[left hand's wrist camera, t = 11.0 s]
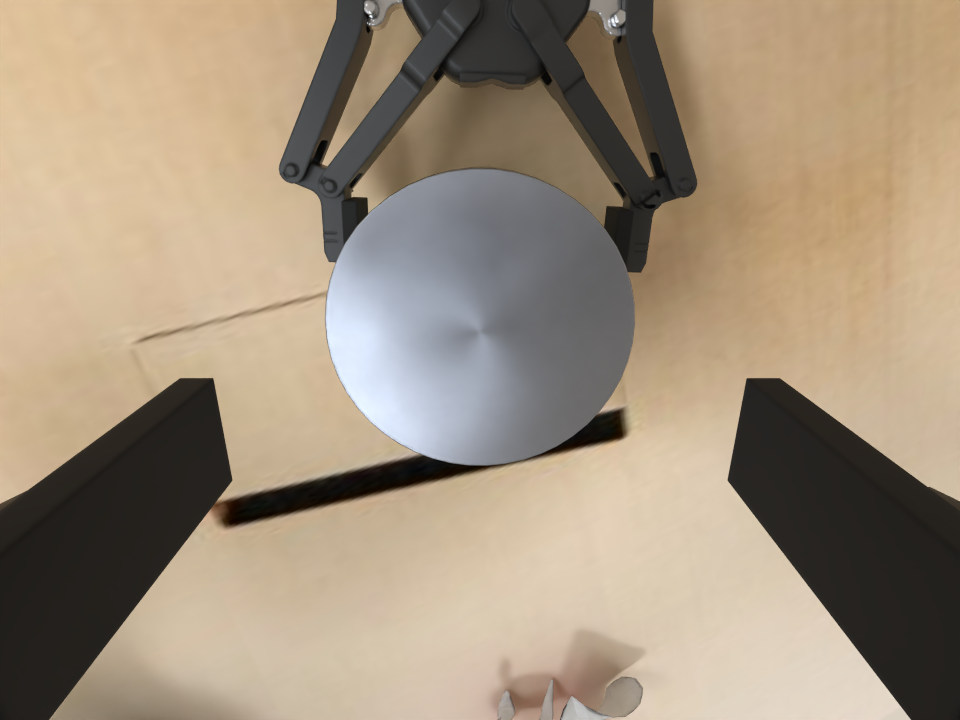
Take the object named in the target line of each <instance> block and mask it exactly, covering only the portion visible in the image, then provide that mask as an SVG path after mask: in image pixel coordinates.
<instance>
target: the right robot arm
mask: <svg viewBox="0 0 960 720" xmlns="http://www.w3.org/2000/svg"><path fill="white" fill-rule="evenodd" d="M396 9H405V11H406V13H407V15H408V17H409V19H410V20H411V22H412V24H413V25H414V27H415V28H416V30H417V32H418V33H419V35H420V37H421V38H422V40H421V41H420V42H419V44H418V45H417V46H416V48H415V49H414V50H413V52H412V53H411V54H410V56H409V57H408V58H407V60H406V61H405V62H404V64H403V66H402V68H401V71H400V72H399V74H398V75H397V76H396V78H395V79H394V80H393V82H392V83H391V84H390V86H389V87H388V88H387V89H386V91H385V92H384V93H383V95H382V96H381V97H380V99H379V100H378V101H377V103H376V104H375V105H374V107H373V108H372V109H371V110H370V112H369V113H368V114H367V116H366V117H365V118H364V120H363V121H362V122H361V124H360V125H359V126H358V128H357V129H356V130H355V131H354V133H353V134H352V135H351V137H350V138H349V139H348V141H347V142H346V143H345V145H344V146H343V147H342V149H341V150H340V151H339V152H338V154H337V155H336V156H335V158H334V159H333V160H332V162H331V163H330V164H329V166H328V167H327V166H325V165H322V162H323V160H324V157H325V155H326V153H327V150H328V148H329V145H330V143H331V140H332V138H333V136H334V133H335V131H336V128H337V126H338V123H339V121H340V119H341V116H342V114H343V111H344V109H345V107H346V104H347V102H348V99H349V97H350V94H351V92H352V90H353V87H354V85H355V82H356V80H357V78H358V75H359V73H360V70H361V68H362V65H363V63H364V61H365V58H366V56H367V53H368V50H369V47H370V45H371V40H372V36H373V30H381V29H383V28H384V27H385V26H386V25H387V23H388V20H389V17H390V15H391V13H392V12H393V11H395V10H396ZM586 16H590V17H592V18H594V19H595V20H596V21H597V23H598V24H599V28H600V32H601V34H602V36H603V37H604V38H606V39H608V40H613V45H614V51H615V56H616V60H617V64H618V67H619V70H620V73H621V76H622V79H623V82H624V85H625V88H626V92H627V95H628V98H629V101H630V104H631V107H632V110H633V113H634V116H635V119H636V122H637V125H638V128H639V132H640V135H641V138H642V141H643V144H644V147H645V150H646V153H647V156H648V159H649V162H650V165H651V168H652V172H653V175H654V177H651V178H649V177H648V175H647V174H646V172H645V170H644V169H643V167H642V166H641V164H640V163H639V161H638V160H637V158H636V156H635V155H634V153H633V152H632V150H631V149H630V147H629V146H628V144H627V142H626V141H625V139H624V138H623V136H622V135H621V133H620V132H619V130H618V128H617V127H616V125H615V124H614V122H613V121H612V119H611V118H610V116H609V114H608V113H607V111H606V110H605V108H604V107H603V105H602V104H601V102H600V101H599V99H598V97H597V96H596V94H595V93H594V91H593V90H592V88H591V87H590V85H589V83H588V82H587V80H586V78H585V75H584V72H583V70H582V68H581V66H580V65H579V63H578V62H577V60H576V58H575V57H574V55H573V54H572V52H571V51H570V49H569V48H568V46H567V44H566V43H567V42H568V40H569V39H570V37H571V36H572V35H573V33H574V32H575V31H576V29H577V28H578V27H579V25H580V24H581V22H582V21H583V20H584V18H585V17H586ZM652 27H653V0H337V12H336V20H335V23H334V25H333V28H332V31H331V33H330V36H329V38H328V41H327V43H326V46H325V49H324V51H323V54H322V56H321V59H320V62H319V64H318V67H317V69H316V72H315V74H314V77H313V80H312V82H311V85H310V87H309V90H308V92H307V95H306V98H305V100H304V103H303V105H302V108H301V111H300V113H299V116H298V118H297V121H296V123H295V126H294V129H293V131H292V134H291V136H290V139H289V141H288V144H287V147H286V149H285V152H284V154H283V157H282V160H281V162H280V166H279V172H280V175H281V177H282V178H283V179H284V180H285V181H286V182H289V183H295V184H298V185H300V186H302V187H305V188H307V189H310V190H312V191H313V192H315V193H316V194H317V196H318V197H319V199H320V201H321V206H322V221H323V232H324V233H323V237H324V252H325V254H326V256H327V259H328V261H329V262H336V261H337V259H338V257H339V255H340V253H341V251H342V249H343V247H344V245H345V243H346V241H347V240H348V239H349V237H350V236H351V234H352V233H353V231H354V230H355V228H356V227H357V226H358V225H359V224H360V222H361V221H362V220H363V219H364V218H365V217H366V216H367V215H368V200H367V198H363V197H352V198H351V193H352V192H353V190H352V189H353V188H354V187H355V185H356V184H357V183H358V182H359V180H360V179H361V178H362V177H363V175H364V174H365V173H366V171H367V170H368V169H369V168H370V166H371V165H372V164H373V163H374V161H375V160H376V159H377V158H378V156H379V155H380V154H381V152H382V151H383V150H384V149H385V147H386V146H387V145H388V144H389V142H390V141H391V140H392V138H393V137H394V136H395V135H396V133H397V132H398V131H399V130H400V128H401V127H402V126H403V125H404V123H405V122H406V121H407V119H408V118H409V117H410V116H411V114H412V113H413V112H414V111H415V109H416V108H417V107H418V105H419V104H420V103H421V102H422V100H423V99H424V98H425V97H426V96H427V95H428V94H429V93H430V92H431V91H432V90H433V89H434V87H435V86H436V85H437V84H438V82H439V81H440V80H441V79H442V77H443V76H444V75H445V76H446V77H447V78H448V79H449V80H451V81H452V82H454V83H456V84H459V85H460V87H470V88H477V87H481V86H484V85H488V84H495V85H498V86H501V87H503V88H506V89H522V90H523V89H524V87H528V86H530V85H532V84H534V83H535V82H537V81H538V80H539V79H540V80H541V82H542V83H543V85H544V86H545V88H546V89H547V91H548V92H549V93H550V95H551V96H552V97H553V99H555V100H556V101H557V103H558V104H559V106H560V107H561V109H562V110H563V112H564V113H565V115H566V116H567V118H568V119H569V121H570V122H571V123H572V125H573V126H574V128H575V129H576V131H577V132H578V134H579V135H580V137H581V138H582V140H583V141H584V143H585V144H586V146H587V147H588V149H589V150H590V152H591V153H592V155H593V156H594V158H595V159H596V161H597V162H598V164H599V165H600V167H601V168H602V170H603V171H604V173H605V174H606V176H607V177H608V179H609V180H610V182H611V183H612V185H613V186H614V188H615V189H616V191H617V192H618V194H619V195H620V197H621V198H622V200H623V207H614V206H607V208H606V216H605V225H604V228H605V229H606V231H607V233H608V234H609V236H610V237H611V239H612V240H613V242H614V243H615V245H616V246H617V248H618V250H619V253H620V255H621V257H622V259H623V261H624V263H625V266H626V269H627V272H640V273H641V271H642V269H643V267H644V266H645V264H646V258H647V251H648V243H649V237H650V230H651V223H652V217H653V213H654V211H655V210H656V209H658V208H659V206H660V205H661V204H662V203H664V202H667V201H670V200H673V199H676V198H679V197H683V198H684V197H688V196H690V195H691V194H693V192H694V191H695V189H696V186H697V179H696V175H695V172H694V169H693V165H692V162H691V159H690V155H689V152H688V149H687V145H686V142H685V139H684V135H683V132H682V129H681V125H680V122H679V119H678V115H677V112H676V109H675V105H674V102H673V99H672V95H671V92H670V89H669V85H668V82H667V79H666V75H665V72H664V69H663V65H662V62H661V59H660V55H659V52H658V49H657V45H656V42H655V38H654V35H653V32H652Z"/></svg>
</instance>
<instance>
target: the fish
mask: <svg viewBox="0 0 960 720" xmlns="http://www.w3.org/2000/svg"><path fill="white" fill-rule="evenodd" d="M642 692H643V688H642V686H641V685H640V683H639V682H638V681H637V679H635V678H631V677H621V678H619V679H617V680H615V681H614V682H613V683H611V684H610V685H609V686H608V687H607V688H606V693H605V697H604V700H603V703H602V705H601V707H600V708H599V709H598V710H597V712H596V711H594V710H592V709H590V708H588V707H586V706H584V705H583V704H582V703H580V702H579V701H578V700H577V699H575V698H574V697H573V696H571V697H570V699H569V701H568V703H567V704H566V706H565V708H564V709H563V712H562V715H561V718H560V720H604V719H607V718H613V717H626V716H627V715H629V714H630V713H631V712H633V711H634V710H635V709H636V708H637V707H638V706H639V704H640V702H641V698H642ZM514 713H515V708H514V705H513V702H512V700H511V696H510V693H509V691H505V692H504V694H503V696H502V698H501V701H500V704H499V707H498V720H512V718H513V716H514ZM539 720H553V680H552V679H551V682H550V685H549V687H548V690H547V693H546V696H545V699H544V703H543V707H542V712H541V715H540V719H539Z"/></svg>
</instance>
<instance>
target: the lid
mask: <svg viewBox="0 0 960 720" xmlns="http://www.w3.org/2000/svg"><path fill="white" fill-rule="evenodd" d="M325 325H326V336H327V342H328V347H329V351H330V355H331V359H332V362H333V364H334V367H335V370H336V372H337V375H338V377H339V379H340V381H341V383H342V385H343V387H344V388H345V390H346V392H347V394H348V395H349V397H350V398H351V399H352V401H353V402H354V404H355V405H356V406H357V408H358V409H359V410H360V411H361V412H362V413H363V414H364V416H365V417H366V418H367V419H368V420H369V421H370V422H371V423H372V424H373V425H375V426H376V427H377V428H378V429H379V430H380V431H382V432H383V433H384V434H385V435H387V436H388V437H390V438H391V439H393V440H394V441H396V442H397V443H399V444H401V445H403V446H405V447H407V448H409V449H411V450H412V451H414V452H417V453H419V454H422V455H425V456H427V457H430V458H433V459H437V460H441V461H445V462H449V463H456V464H464V465H496V464H506V463H510V462H515V461H519V460H524V459H527V458H530V457H532V456H535V455H538V454H541V453H543V452H545V451H547V450H549V449H551V448H554V447H556V446H558V445H559V444H561V443H562V442H564V441H566V440H567V439H569V438H570V437H572V436H573V435H575V434H576V433H577V432H578V431H579V430H581V429H582V428H583V427H584V426H586V425H587V424H588V423H589V422H590V421H591V420H592V419H593V418H594V417H595V416H596V415H597V413H598V412H599V411H600V410H601V409H602V408H603V406H604V405H605V404H606V402H607V401H608V400H609V398H610V397H611V395H612V394H613V392H614V390H615V388H616V387H617V385H618V383H619V381H620V379H621V377H622V375H623V372H624V370H625V367H626V365H627V362H628V359H629V355H630V351H631V347H632V343H633V335H634V326H635V307H634V298H633V292H632V286H631V282H630V279H629V275H628V272H627V269H626V266H625V263H624V261H623V259H622V257H621V255H620V253H619V250H618V248H617V246H616V245H615V243H614V242H613V240H612V239H611V237H610V236H609V234H608V233H607V231H606V229H605V228H604V227H603V226H602V225H601V224H600V223H599V221H598V220H597V219H596V218H595V217H594V216H593V215H592V213H590V212H589V211H588V210H587V209H586V208H585V207H583V206H582V205H581V204H580V203H579V202H578V201H577V200H575V199H574V198H572V197H571V196H569V195H568V194H566V193H565V192H563V191H561V190H560V189H558V188H557V187H555V186H552V185H550V184H548V183H546V182H544V181H541V180H539V179H537V178H534V177H532V176H528V175H525V174H522V173H519V172H515V171H512V170H505V169H499V168H491V167H470V168H462V169H454V170H449V171H445V172H442V173H438V174H434V175H431V176H428V177H426V178H423V179H421V180H419V181H416V182H414V183H412V184H409V185H407V186H405V187H404V188H402V189H400V190H399V191H397V192H395V193H394V194H392V195H391V196H389V197H387V198H386V199H385V200H384V201H383V202H381V203H380V204H379V205H378V206H376V207H375V208H374V209H373V210H372V211H371V212H370V213H369V214H368V215H367V216H366V217H365V218H364V219H363V220H362V221H361V222H360V224H359V225H358V226H357V227H356V228H355V230H354V231H353V233H352V234H351V236H350V237H349V239H348V240H347V241H346V243H345V245H344V247H343V249H342V251H341V253H340V255H339V257H338V259H337V261H336V263H335V266H334V269H333V272H332V275H331V278H330V281H329V287H328V292H327V298H326V311H325Z"/></svg>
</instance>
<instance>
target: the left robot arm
mask: <svg viewBox="0 0 960 720" xmlns="http://www.w3.org/2000/svg"><path fill="white" fill-rule="evenodd" d="M231 482H232V476H231V470H230V465H229V460H228V454H227V449H226V444H225V438H224V433H223V428H222V422H221V417H220V412H219V406H218V401H217V396H216V390H215V385H214V380H213V378H180V379H179V380H177V381H176V382H175V383H173V384H172V385H170V386H169V387H168V388H166V389H165V390H164V391H162V392H161V393H160V394H158V395H157V396H155V397H154V398H153V399H151V400H150V401H149V402H147V403H146V404H145V405H143V406H142V407H141V408H139V409H138V410H136V411H135V412H134V413H132V414H131V415H130V416H128V417H127V418H126V419H124V420H123V421H122V422H120V423H119V424H117V425H116V426H115V427H113V428H112V429H111V430H109V431H108V432H107V433H105V434H104V435H103V436H101V437H100V438H98V439H97V440H96V441H94V442H93V443H92V444H90V445H89V446H88V447H86V448H85V449H84V450H82V451H81V452H79V453H78V454H77V455H75V456H74V457H73V458H71V459H70V460H69V461H67V462H66V463H65V464H63V465H62V466H60V467H59V468H58V469H56V470H55V471H54V472H52V473H51V474H50V475H48V476H47V477H45V478H44V479H43V480H41V481H40V482H39V483H37V484H36V485H35V486H33V487H32V488H31V489H29V490H28V491H26V492H24V493H22V494H19V495H17V496H15V497H13V498H11V499H9V500H7V501H5V502H3V503H1V504H0V720H49V719H50V718H51V716H52V715H53V714H54V712H55V711H56V710H57V708H58V707H59V706H60V705H61V703H62V702H63V701H64V699H65V698H66V697H67V695H68V694H69V693H70V692H71V690H72V689H73V688H74V686H75V685H76V684H77V682H78V681H79V680H80V678H81V677H82V676H83V675H84V673H85V672H86V671H87V669H88V668H89V667H90V665H91V664H92V663H93V662H94V660H95V659H96V658H97V656H98V655H99V654H100V652H101V651H102V650H103V648H104V647H105V646H106V645H107V643H108V642H109V641H110V639H111V638H112V637H113V635H114V634H115V633H116V632H117V630H118V629H119V628H120V626H121V625H122V624H123V622H124V621H125V620H126V619H127V617H128V616H129V615H130V613H131V612H132V611H133V609H134V608H135V607H136V605H137V604H138V603H139V602H140V600H141V599H142V598H143V596H144V595H145V594H146V592H147V591H148V590H149V589H150V587H151V586H152V585H153V583H154V582H155V581H156V579H157V578H158V577H159V575H160V574H161V573H162V572H163V570H164V569H165V568H166V566H167V565H168V564H169V562H170V561H171V560H172V559H173V557H174V556H175V555H176V553H177V552H178V551H179V549H180V548H181V547H182V545H183V544H184V543H185V542H186V540H187V539H188V538H189V536H190V535H191V534H192V532H193V531H194V530H195V529H196V527H197V526H198V525H199V523H200V522H201V521H202V519H203V518H204V517H205V515H206V514H207V513H208V512H209V510H210V509H211V508H212V506H213V505H214V504H215V502H216V501H217V500H218V499H219V497H220V496H221V495H222V493H223V492H224V491H225V489H226V488H227V487H228V486H229V484H230V483H231ZM728 482H729V483H730V484H731V486H732V487H733V488H734V489H735V491H736V492H737V493H738V495H739V496H740V497H741V499H742V500H743V501H744V502H745V504H746V505H747V506H748V508H749V509H750V510H751V512H752V513H753V514H754V515H755V517H756V518H757V519H758V521H759V522H760V523H761V525H762V526H763V527H764V529H765V530H766V531H767V532H768V534H769V535H770V536H771V538H772V539H773V540H774V542H775V543H776V544H777V545H778V547H779V548H780V549H781V551H782V552H783V553H784V555H785V556H786V557H787V559H788V560H789V561H790V562H791V564H792V565H793V566H794V568H795V569H796V570H797V572H798V573H799V574H800V575H801V577H802V578H803V579H804V581H805V582H806V583H807V585H808V586H809V587H810V589H811V590H812V591H813V592H814V594H815V595H816V596H817V598H818V599H819V600H820V602H821V603H822V604H823V605H824V607H825V608H826V609H827V611H828V612H829V613H830V615H831V616H832V617H833V619H834V620H835V621H836V622H837V624H838V625H839V626H840V628H841V629H842V630H843V632H844V633H845V634H846V635H847V637H848V638H849V639H850V641H851V642H852V643H853V645H854V646H855V647H856V649H857V650H858V651H859V652H860V654H861V655H862V656H863V658H864V659H865V660H866V662H867V663H868V664H869V665H870V667H871V668H872V669H873V671H874V672H875V673H876V675H877V676H878V677H879V678H880V680H881V681H882V682H883V684H884V685H885V686H886V688H887V689H888V690H889V692H890V693H891V694H892V695H893V697H894V698H895V699H896V701H897V702H898V703H899V705H900V706H901V707H902V708H903V710H904V711H905V712H906V714H907V715H908V716H909V718H910V719H911V720H960V501H958V500H956V499H954V498H952V497H950V496H947V495H945V494H943V493H941V492H939V491H937V490H935V489H933V488H931V487H927V486H925V485H924V484H923V483H921V482H920V481H919V480H917V479H916V478H915V477H913V476H912V475H910V474H909V473H908V472H906V471H905V470H904V469H902V468H901V467H900V466H898V465H897V464H895V463H894V462H893V461H891V460H890V459H889V458H887V457H886V456H885V455H883V454H882V453H881V452H879V451H878V450H876V449H875V448H874V447H872V446H871V445H870V444H868V443H867V442H866V441H864V440H863V439H862V438H860V437H859V436H857V435H856V434H855V433H853V432H852V431H851V430H849V429H848V428H847V427H845V426H844V425H843V424H841V423H840V422H838V421H837V420H836V419H834V418H833V417H832V416H830V415H829V414H828V413H826V412H825V411H824V410H822V409H821V408H819V407H818V406H817V405H815V404H814V403H813V402H811V401H810V400H809V399H807V398H806V397H805V396H803V395H802V394H800V393H799V392H798V391H796V390H795V389H794V388H792V387H791V386H790V385H788V384H787V383H785V382H784V381H783V380H781V379H780V378H747V380H746V385H745V390H744V396H743V401H742V406H741V412H740V417H739V422H738V428H737V433H736V438H735V444H734V449H733V454H732V460H731V465H730V470H729V476H728Z"/></svg>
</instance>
